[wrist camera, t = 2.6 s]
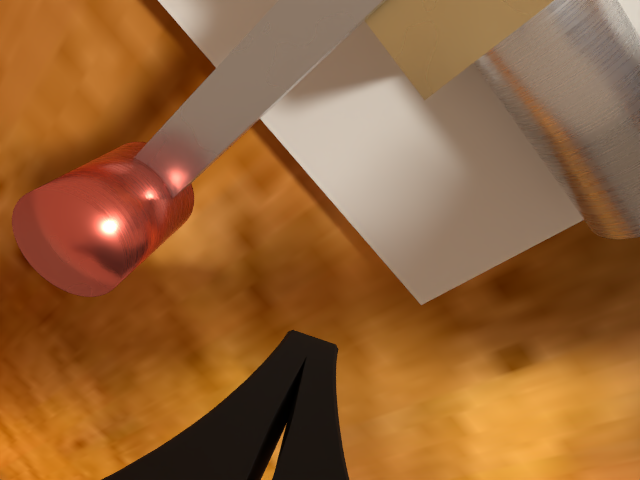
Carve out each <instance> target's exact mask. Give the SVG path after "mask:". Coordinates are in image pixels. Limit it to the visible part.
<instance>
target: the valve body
mask: <svg viewBox="0 0 640 480" xmlns="http://www.w3.org/2000/svg"><path fill="white" fill-rule="evenodd" d="M365 22H366V23H367V25H368V26H369V27H370V29H371V30H372V31H373V33H374V34H375V35H376V37H377V38H378V39H379V41H380V42H381V43H382V45H383V46H384V47H385V49H386V50H387V51H388V53H389V54H390V55H391V57H392V58H393V59H394V61H395V62H396V63H397V65H398V66H399V67H400V69H401V70H402V71H403V73H404V74H405V75H406V77H407V78H408V79H409V81H410V82H411V83H412V85H413V86H414V87H415V88H416V90H417V91H418V92H419V94H420V95H421V96H422V98H423V99H424V100H426V99H427V98H429V97H430V96H431V95H432V94H434V93H435V92H436V91H438V90H439V89H440V88H441V87H443V86H444V85H445V84H447V83H448V82H449V81H451V80H452V79H453V78H454V77H456V76H457V75H458V74H460V73H461V72H462V71H463V70H465V69H466V68H467V67H469V66H470V65H471V64H473V63H474V64H475V66H476V67H477V69H478V70H479V72H480V73H481V74H482V76H483V77H484V79H485V80H486V81H487V83H488V84H489V86H490V87H491V89H492V90H493V91H494V93H495V94H496V96H497V97H498V98H499V100H500V101H501V103H502V104H503V106H504V107H505V108H506V110H507V111H508V113H509V114H510V116H511V117H512V118H513V120H514V121H515V123H516V124H517V125H518V127H519V128H520V130H521V131H522V133H523V134H524V135H525V137H526V138H527V140H528V141H529V142H530V144H531V145H532V147H533V148H534V150H535V151H536V152H537V154H538V155H539V157H540V158H541V159H542V161H543V162H544V164H545V165H546V167H547V168H548V169H549V171H550V172H551V174H552V175H553V176H554V178H555V179H556V181H557V182H558V184H559V185H560V186H561V188H562V189H563V191H564V192H565V193H566V195H567V196H568V198H569V199H570V201H571V202H572V203H573V205H574V206H575V208H576V209H577V210H578V212H579V213H580V215H581V216H582V218H583V219H584V220H585V222H586V223H587V225H588V226H589V227H590V229H591V230H592V231H593V232H594V233H595V234H596V235H598V236H600V237H604V238H608V239H630V238H636V237H640V36H639V34H638V33H637V31H636V29H635V28H634V26H633V24H632V23H631V21H630V19H629V18H628V16H627V14H626V13H625V11H624V9H623V8H622V6H621V4H620V3H619V1H618V0H386V1H385V2H384V3H383V4H382V5H381V6H380V7H379V8H378V9H377V10H376V11H374V12H373V13H372V14H371V15H370V16H369V17H368V18H367V19H366V20H365Z"/></svg>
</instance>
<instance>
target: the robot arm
mask: <svg viewBox="0 0 640 480" xmlns="http://www.w3.org/2000/svg"><path fill="white" fill-rule="evenodd" d="M337 353H338V348H337V346H336V345H335V344H333V343H330V342H327V341H324V340H321V339H318V338H315V337H312V336H309V335H306V334H303V333H300V332H297V331H294V330H292V331H289V332H288V333H287V334H286V336H285V337H284V339H283V340H282V341H281V343H280V344H279V345H278V347H277V348H276V349H275V350H274V351H273V353H272V354H271V355H270V356H269V357H268V358H267V359H266V360H265V361H264V363H263V364H262V365H261V366H260V367H259V368H258V369H257V370H256V371H255V372H254V373H253V374H252V375H251V376H250V377H249V378H248V379H247V380H246V381H245V382H244V383H242V384H241V385H240V386H239V387H238V388H237V389H236V390H235V391H233V392H232V393H231V394H230V395H229V396H228V397H227V398H226V399H224V400H223V401H222V402H221V403H220V404H218V405H217V406H216V407H215V408H214V409H212V410H211V411H210V412H209V413H207V414H206V415H205V416H203V417H202V418H201V419H199V420H198V421H197V422H195V423H194V424H193V425H191V426H190V427H188V428H187V429H185V430H184V431H183V432H181V433H180V434H178V435H177V436H175V437H174V438H172V439H171V440H169V441H168V442H166V443H165V444H163V445H162V446H160V447H159V448H157V449H155V450H154V451H152V452H150V453H148V454H147V455H145V456H143V457H142V458H140V459H138V460H137V461H135V462H133V463H131V464H130V465H128V466H126V467H125V468H123V469H121V470H119V471H117V472H115V473H114V474H112V475H110V476H108V477H106V478H104V479H102V480H261V478H262V476H263V474H264V471H265V469H266V467H267V465H268V463H269V460H270V458H271V456H272V454H273V452H274V450H275V447H276V445H277V443H278V441H279V439H280V436H281V434H282V432H283V430H284V428H285V426H286V428H285V432H284V436H283V440H282V444H281V449H280V453H279V457H278V461H277V465H276V469H275V473H274V476H273V478H272V480H349V477H348V472H347V468H346V463H345V458H344V452H343V447H342V440H341V433H340V426H339V418H338V407H337V395H336V361H337ZM286 423H287V424H286Z"/></svg>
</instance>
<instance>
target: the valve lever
mask: <svg viewBox="0 0 640 480" xmlns="http://www.w3.org/2000/svg"><path fill="white" fill-rule="evenodd" d="M385 1H386V0H278V1H277V2H276V4H275V5H274V6H273V7H272V8H271V9H270V10H269V11H268V12H267V13H266V14H265V16H264V17H263V18H262V19H261V20H260V21H259V22H258V23H257V24H256V25H255V26H254V27H253V29H252V30H251V31H250V32H249V33H248V34H247V35H246V36H245V37H244V38H243V39H242V41H241V42H240V43H239V44H238V45H237V46H236V47H235V48H234V49H233V50H232V51H231V53H230V54H229V55H228V56H227V57H226V58H225V59H224V60H223V61H222V62H221V63H220V64H219V66H218V67H217V68H216V69H215V70H214V71H213V72H212V73H211V74H210V75H209V76H208V78H207V79H206V80H205V81H204V82H203V83H202V84H201V85H200V86H199V87H198V88H197V89H196V91H195V92H194V93H193V94H192V95H191V96H190V97H189V98H188V99H187V100H186V101H185V103H184V104H183V105H182V106H181V107H180V108H179V109H178V110H177V111H176V112H175V113H174V115H173V116H172V117H171V118H170V119H169V120H168V121H167V122H166V123H165V124H164V125H163V126H162V128H161V129H160V130H159V131H158V132H157V133H156V134H155V135H154V136H153V137H152V138H151V140H150V141H149V142H148V143H145V142H131V143H127V144H124V145H122V146H120V147H118V148H116V149H114V150H112V151H110V152H108V153H106V154H104V155H102V156H100V157H98V158H96V159H94V160H92V161H90V162H88V163H86V164H84V165H82V166H80V167H78V168H76V169H74V170H72V171H70V172H69V173H67V174H65V175H63V176H61V177H59V178H57V179H55V180H53V181H51V182H49V183H47V184H45V185H43V186H41V187H39V188H37V189H35V190H33V191H31V192H29V193H27V194H26V195H24V196H23V197H22V198H21V199H20V200H19V201H18V202H17V204H16V205H15V208H14V211H13V216H12V226H13V232H14V236H15V239H16V242H17V244H18V246H19V248H20V250H21V252H22V254H23V255H24V257H25V258H26V260H27V261H28V262H29V264H30V265H31V266H32V267H33V268H34V269H35V270H36V271H37V272H38V273H39V274H40V275H41V276H42V277H43V278H45V279H46V280H47V281H49V282H50V283H51V284H53V285H55V286H56V287H58V288H60V289H62V290H64V291H66V292H69V293H72V294H75V295H79V296H85V297H95V296H101V295H104V294H106V293H108V292H110V291H111V290H113V289H114V288H115V287H116V286H117V285H118V284H119V283H120V282H121V281H123V280H124V279H125V278H126V277H127V276H128V275H129V274H130V273H131V272H132V271H133V270H134V269H135V268H137V267H138V266H139V265H140V264H141V263H142V262H143V261H144V260H145V259H146V258H147V257H148V256H150V255H151V254H152V253H153V252H154V251H155V250H156V249H157V248H158V247H159V246H160V245H161V244H162V243H164V242H165V241H166V240H167V239H168V238H169V237H170V236H171V235H172V234H173V233H174V232H175V231H176V230H178V229H179V228H180V227H181V226H182V225H183V224H184V223H185V222H186V221H187V220H188V218H189V217H190V215H191V213H192V210H193V206H194V193H193V188H192V184H191V183H192V182H193V181H194V180H195V179H196V178H197V177H199V176H200V175H201V174H202V173H203V172H204V171H205V170H206V169H207V168H208V167H209V166H210V165H211V164H212V163H213V162H215V161H216V160H217V159H218V158H219V157H220V156H221V155H222V154H223V153H224V152H225V151H226V150H227V149H228V148H229V147H231V146H232V145H233V144H234V143H235V142H236V141H237V140H238V139H239V138H240V137H241V136H242V135H243V134H244V133H245V132H247V131H248V130H249V129H250V128H251V127H252V126H253V125H254V124H255V123H256V122H257V121H258V120H259V119H260V118H261V117H263V116H264V115H265V114H266V113H267V112H268V111H269V110H270V109H271V108H272V107H273V106H274V105H275V104H276V103H277V102H278V101H280V100H281V99H282V98H283V97H284V96H285V95H286V94H287V93H288V92H289V91H290V90H291V89H292V88H293V87H294V86H296V85H297V84H298V83H299V82H300V81H301V80H302V79H303V78H304V77H305V76H306V75H307V74H308V73H309V72H310V71H312V70H313V69H314V68H315V67H316V66H317V65H318V64H319V63H320V62H321V61H322V60H323V59H324V58H325V57H326V56H328V55H329V54H330V53H331V52H332V51H333V50H334V49H335V48H336V47H337V46H338V45H339V44H340V43H341V42H342V41H344V40H345V39H346V38H347V37H348V36H349V35H350V34H351V33H352V32H353V31H354V30H355V29H356V28H357V27H358V26H360V25H361V24H362V23H363V22H364V21H365V20H366V19H367V18H368V17H369V16H370V15H371V14H372V13H373V12H374V11H376V10H377V9H378V8H379V7H380V6H381V5H382V4H383V3H384V2H385Z"/></svg>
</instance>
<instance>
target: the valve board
mask: <svg viewBox="0 0 640 480" xmlns="http://www.w3.org/2000/svg"><path fill="white" fill-rule="evenodd" d="M158 1H159V2H160V3H161V5H162V6H163V7H164V8H165V9H166V10H167V12H168V13H169V14H170V15H171V16H172V17H173V18H174V20H175V21H176V22H177V23H178V24H179V25H180V27H181V28H182V29H183V30H184V31H185V32H186V34H187V35H188V36H189V37H190V38H191V39H192V40H193V42H194V43H195V44H196V45H197V46H198V47H199V49H200V50H201V51H202V52H203V53H204V54H205V56H206V57H207V58H208V59H209V60H210V61H211V62H212V64H213V65H214V66H215V67H216V68H217V67H218V66H219V64H220V63H221V62H222V61H223V60H224V59H225V58H226V57H227V56H228V55H229V54H230V53H231V51H232V50H233V49H234V48H235V47H236V46H237V45H238V44H239V43H240V42H241V41H242V39H243V38H244V37H245V36H246V35H247V34H248V33H249V32H250V31H251V30H252V29H253V27H254V26H255V25H256V24H257V23H258V22H259V21H260V20H261V19H262V18H263V17H264V16H265V14H266V13H267V12H268V11H269V10H270V9H271V8H272V7H273V6H274V5H275V4H276V2H277V1H278V0H158ZM618 1H619V3H620V4H621V6H622V8H623V9H624V11H625V13H626V14H627V16H628V18H629V19H630V21H631V23H632V24H633V26H634V28H635V29H636V31H637V33H638V34H639V36H640V0H618ZM260 119H261V120H262V121H263V123H264V124H265V125H266V126H267V127H268V128H269V130H270V131H271V132H272V133H273V134H274V135H275V137H276V138H277V139H278V140H279V141H280V142H281V143H282V145H283V146H284V147H285V148H286V149H287V150H288V152H289V153H290V154H291V155H292V156H293V157H294V159H295V160H296V161H297V162H298V163H299V164H300V165H301V167H302V168H303V169H304V170H305V171H306V172H307V174H308V175H309V176H310V177H311V178H312V179H313V181H314V182H315V183H316V184H317V185H318V186H319V187H320V189H321V190H322V191H323V192H324V193H325V194H326V196H327V197H328V198H329V199H330V200H331V201H332V203H333V204H334V205H335V206H336V207H337V208H338V209H339V211H340V212H341V213H342V214H343V215H344V216H345V218H346V219H347V220H348V221H349V222H350V223H351V224H352V226H353V227H354V228H355V229H356V230H357V231H358V233H359V234H360V235H361V236H362V237H363V238H364V240H365V241H366V242H367V243H368V244H369V245H370V246H371V248H372V249H373V250H374V251H375V252H376V253H377V255H378V256H379V257H380V258H381V259H382V260H383V262H384V263H385V264H386V265H387V266H388V267H389V268H390V270H391V271H392V272H393V273H394V274H395V275H396V277H397V278H398V279H399V280H400V281H401V282H402V284H403V285H404V286H405V287H406V288H407V289H408V290H409V292H410V293H411V294H412V295H413V296H414V297H415V299H416V300H417V301H418V302H419V303H420V304H421V305H423V304H424V303H426V302H428V301H430V300H432V299H434V298H436V297H438V296H440V295H442V294H443V293H445V292H447V291H449V290H451V289H453V288H455V287H457V286H459V285H461V284H462V283H464V282H466V281H468V280H470V279H472V278H474V277H476V276H478V275H480V274H482V273H483V272H485V271H487V270H489V269H491V268H493V267H495V266H497V265H499V264H501V263H502V262H504V261H506V260H508V259H510V258H512V257H514V256H516V255H518V254H520V253H522V252H523V251H525V250H527V249H529V248H531V247H533V246H535V245H537V244H539V243H541V242H542V241H544V240H546V239H548V238H550V237H552V236H554V235H556V234H558V233H560V232H562V231H563V230H565V229H567V228H569V227H571V226H573V225H575V224H577V223H579V222H581V221H582V220H584V219H583V218H582V216H581V215H580V213H579V212H578V210H577V209H576V208H575V206H574V205H573V203H572V202H571V201H570V199H569V198H568V196H567V195H566V193H565V192H564V191H563V189H562V188H561V186H560V185H559V184H558V182H557V181H556V179H555V178H554V176H553V175H552V174H551V172H550V171H549V169H548V168H547V167H546V165H545V164H544V162H543V161H542V159H541V158H540V157H539V155H538V154H537V152H536V151H535V150H534V148H533V147H532V145H531V144H530V142H529V141H528V140H527V138H526V137H525V135H524V134H523V133H522V131H521V130H520V128H519V127H518V125H517V124H516V123H515V121H514V120H513V118H512V117H511V116H510V114H509V113H508V111H507V110H506V108H505V107H504V106H503V104H502V103H501V101H500V100H499V98H498V97H497V96H496V94H495V93H494V91H493V90H492V89H491V87H490V86H489V84H488V83H487V81H486V80H485V79H484V77H483V76H482V74H481V73H480V72H479V70H478V69H477V67H476V66H475V64H474V63H473V64H471V65H470V66H469V67H467V68H466V69H465V70H463V71H462V72H461V73H460V74H458V75H457V76H456V77H454V78H453V79H452V80H451V81H449V82H448V83H447V84H445V85H444V86H443V87H441V88H440V89H439V90H438V91H436V92H435V93H434V94H432V95H431V96H430V97H429V98H427V99H426V100H424V99H423V98H422V96H421V95H420V94H419V92H418V91H417V90H416V88H415V87H414V86H413V85H412V83H411V82H410V81H409V79H408V78H407V77H406V75H405V74H404V73H403V71H402V70H401V69H400V67H399V66H398V65H397V63H396V62H395V61H394V59H393V58H392V57H391V55H390V54H389V53H388V51H387V50H386V49H385V47H384V46H383V45H382V43H381V42H380V41H379V39H378V38H377V37H376V35H375V34H374V33H373V31H372V30H371V29H370V27H369V26H368V25H367V23H366V22H365V21H364V22H363V23H362V24H361V25H360V26H358V27H357V28H356V29H355V30H354V31H353V32H352V33H351V34H350V35H349V36H348V37H347V38H346V39H345V40H344V41H342V42H341V43H340V44H339V45H338V46H337V47H336V48H335V49H334V50H333V51H332V52H331V53H330V54H329V55H328V56H326V57H325V58H324V59H323V60H322V61H321V62H320V63H319V64H318V65H317V66H316V67H315V68H314V69H313V70H312V71H310V72H309V73H308V74H307V75H306V76H305V77H304V78H303V79H302V80H301V81H300V82H299V83H298V84H297V85H296V86H294V87H293V88H292V89H291V90H290V91H289V92H288V93H287V94H286V95H285V96H284V97H283V98H282V99H281V100H280V101H278V102H277V103H276V104H275V105H274V106H273V107H272V108H271V109H270V110H269V111H268V112H267V113H266V114H265V115H264V116H263V117H261V118H260Z"/></svg>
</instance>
